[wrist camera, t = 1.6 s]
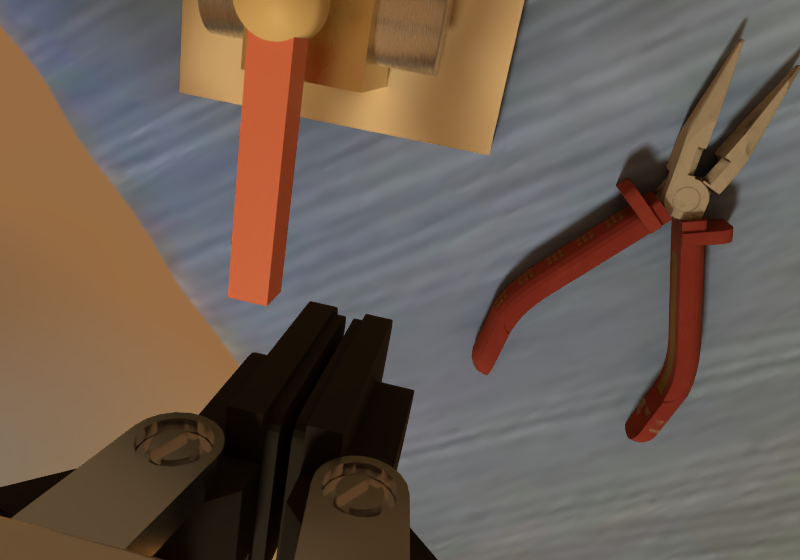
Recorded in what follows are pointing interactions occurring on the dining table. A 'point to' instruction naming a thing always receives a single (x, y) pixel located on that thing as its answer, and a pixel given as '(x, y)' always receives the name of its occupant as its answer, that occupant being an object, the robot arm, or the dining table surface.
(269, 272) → the valve lever
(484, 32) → the mounting board
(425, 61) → the valve body
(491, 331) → the pliers
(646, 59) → the dining table surface
